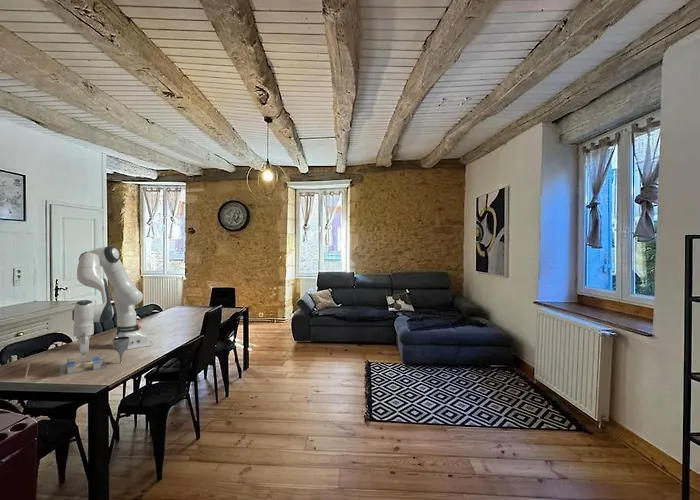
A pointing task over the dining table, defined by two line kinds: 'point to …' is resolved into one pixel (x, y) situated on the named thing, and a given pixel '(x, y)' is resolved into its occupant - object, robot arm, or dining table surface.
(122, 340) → the grey funnel
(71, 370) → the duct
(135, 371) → the dining table surface
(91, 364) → the bar
